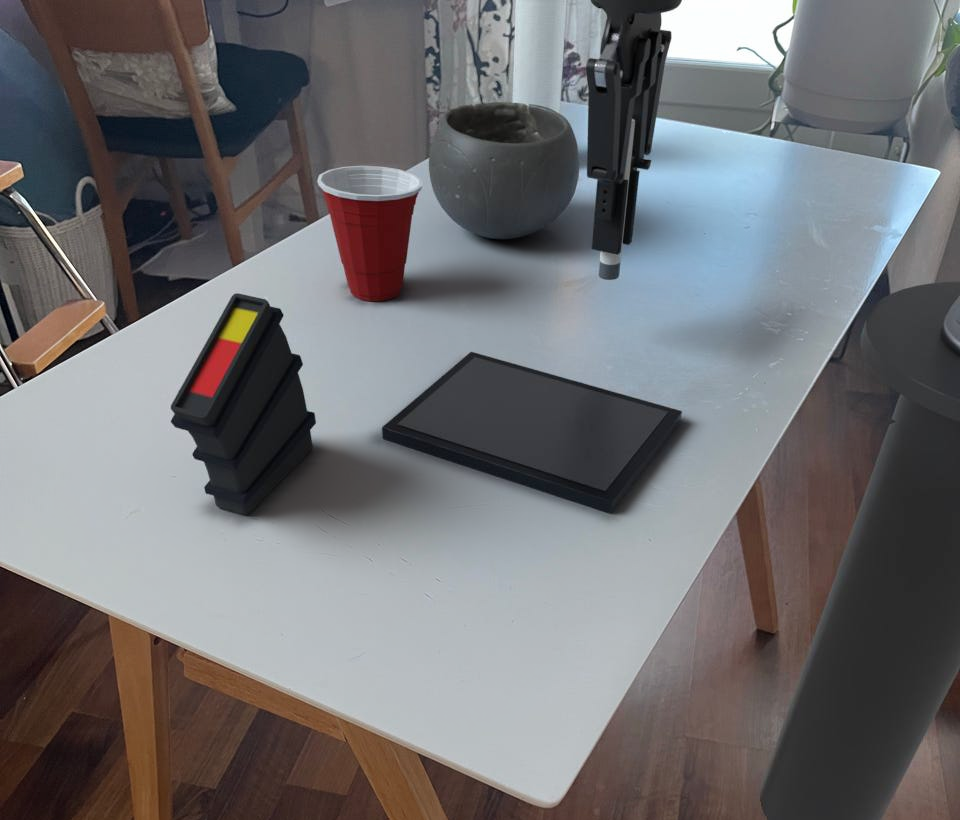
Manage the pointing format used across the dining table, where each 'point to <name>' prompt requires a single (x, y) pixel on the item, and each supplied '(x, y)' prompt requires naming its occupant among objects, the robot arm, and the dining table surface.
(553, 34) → the paper towel roll
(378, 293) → the plastic cup
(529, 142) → the bowl
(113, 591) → the dining table surface
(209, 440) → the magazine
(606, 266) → the stylus
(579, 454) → the tablet
